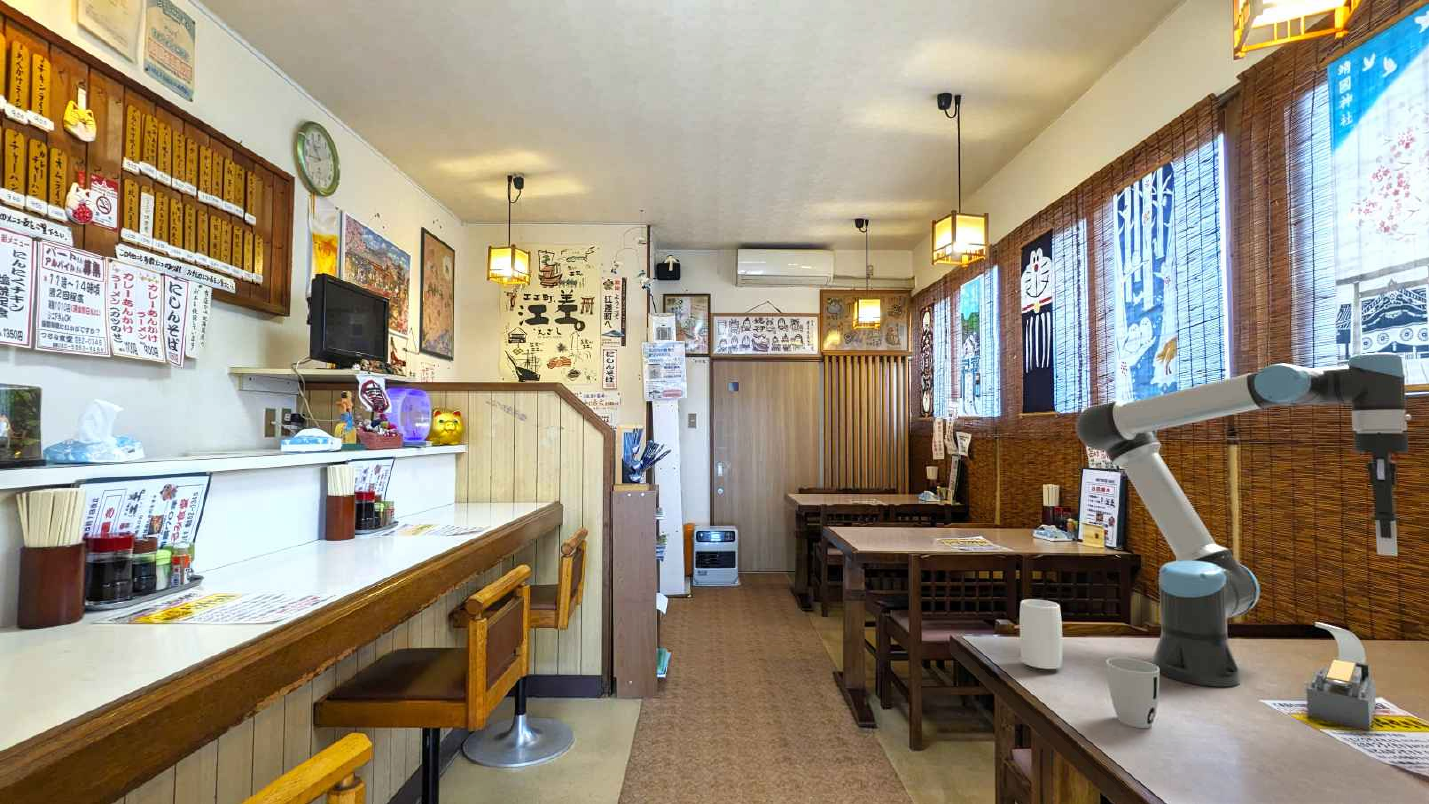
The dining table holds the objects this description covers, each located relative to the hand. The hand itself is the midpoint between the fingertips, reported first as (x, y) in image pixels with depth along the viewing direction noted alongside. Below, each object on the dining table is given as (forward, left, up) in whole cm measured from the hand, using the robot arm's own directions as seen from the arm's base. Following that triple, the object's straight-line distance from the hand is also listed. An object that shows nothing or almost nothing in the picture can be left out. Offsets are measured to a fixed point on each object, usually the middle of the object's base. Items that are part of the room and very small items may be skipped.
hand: (1387, 554), depth 127 cm
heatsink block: (-12, -7, -28) cm, 31 cm away
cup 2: (-50, -24, -29) cm, 62 cm away
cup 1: (-61, +2, -29) cm, 67 cm away
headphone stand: (-3, +11, -29) cm, 31 cm away
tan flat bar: (-11, -5, -22) cm, 25 cm away
